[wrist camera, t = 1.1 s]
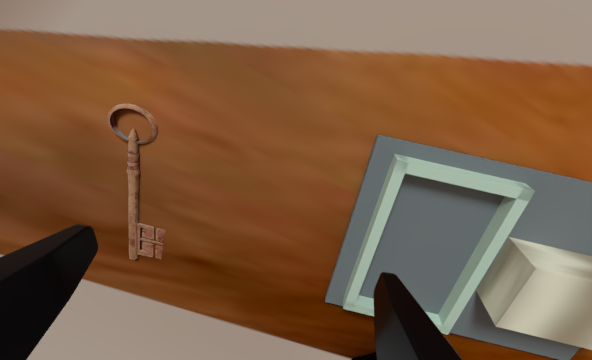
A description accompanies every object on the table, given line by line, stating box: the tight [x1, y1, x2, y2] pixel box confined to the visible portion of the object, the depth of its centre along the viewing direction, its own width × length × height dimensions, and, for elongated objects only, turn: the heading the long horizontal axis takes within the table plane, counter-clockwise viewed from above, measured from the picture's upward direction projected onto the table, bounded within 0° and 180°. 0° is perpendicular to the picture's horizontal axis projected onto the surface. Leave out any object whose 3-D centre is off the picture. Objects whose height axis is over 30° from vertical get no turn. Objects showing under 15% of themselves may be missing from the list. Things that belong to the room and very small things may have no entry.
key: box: [108, 104, 165, 260], centre depth 26 cm, size 6×1×15 cm
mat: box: [325, 134, 592, 360], centre depth 24 cm, size 22×16×1 cm
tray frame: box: [343, 154, 535, 335], centre depth 23 cm, size 9×14×1 cm, turn 168°
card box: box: [476, 237, 592, 350], centre depth 22 cm, size 10×6×4 cm, turn 78°
